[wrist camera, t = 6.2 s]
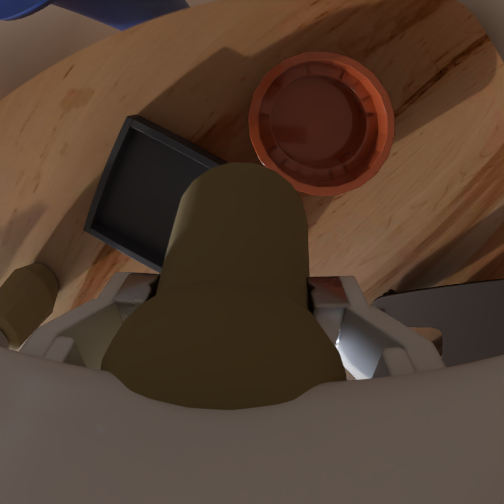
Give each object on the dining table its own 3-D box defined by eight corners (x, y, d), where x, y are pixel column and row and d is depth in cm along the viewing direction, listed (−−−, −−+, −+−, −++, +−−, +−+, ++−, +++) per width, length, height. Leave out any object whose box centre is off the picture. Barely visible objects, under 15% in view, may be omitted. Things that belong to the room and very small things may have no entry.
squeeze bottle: (18, 278, 37) (-49, 354, 21) (32, 244, 35) (-51, 323, 19) (55, 312, 40) (-3, 398, 24) (73, 281, 37) (3, 375, 21)
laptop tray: (366, 259, 41) (354, 304, 35) (521, 241, 28) (539, 287, 22) (387, 360, 51) (378, 402, 44) (504, 353, 38) (507, 397, 31)
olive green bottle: (332, 204, 14) (452, 419, 4) (264, 300, 16) (270, 517, 6) (212, 137, 12) (64, 276, 3) (157, 249, 15) (55, 455, 5)
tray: (93, 221, 33) (82, 230, 31) (136, 114, 28) (126, 115, 25) (221, 290, 37) (219, 303, 35) (285, 196, 32) (287, 204, 29)
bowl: (226, 139, 29) (220, 146, 25) (293, 36, 24) (300, 24, 20) (330, 203, 32) (342, 221, 27) (396, 109, 27) (418, 111, 22)
